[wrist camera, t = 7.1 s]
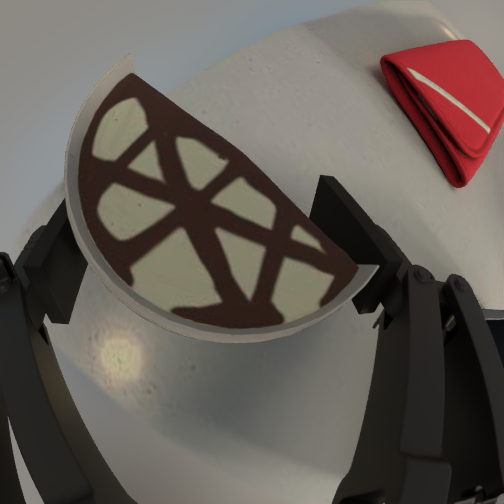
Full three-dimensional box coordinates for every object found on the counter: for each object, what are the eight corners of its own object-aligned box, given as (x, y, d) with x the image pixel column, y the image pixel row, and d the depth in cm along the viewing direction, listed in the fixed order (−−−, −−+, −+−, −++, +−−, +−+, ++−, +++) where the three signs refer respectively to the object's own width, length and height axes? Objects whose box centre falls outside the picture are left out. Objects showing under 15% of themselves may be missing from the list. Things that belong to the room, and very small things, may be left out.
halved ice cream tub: (82, 224, 16) (-7, 169, 6) (147, 155, 17) (120, 47, 7) (227, 355, 17) (272, 433, 7) (288, 280, 18) (389, 276, 9)
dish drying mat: (508, 105, 33) (519, 99, 29) (454, 195, 23) (480, 186, 20) (463, 42, 32) (474, 34, 28) (364, 68, 22) (383, 47, 19)
